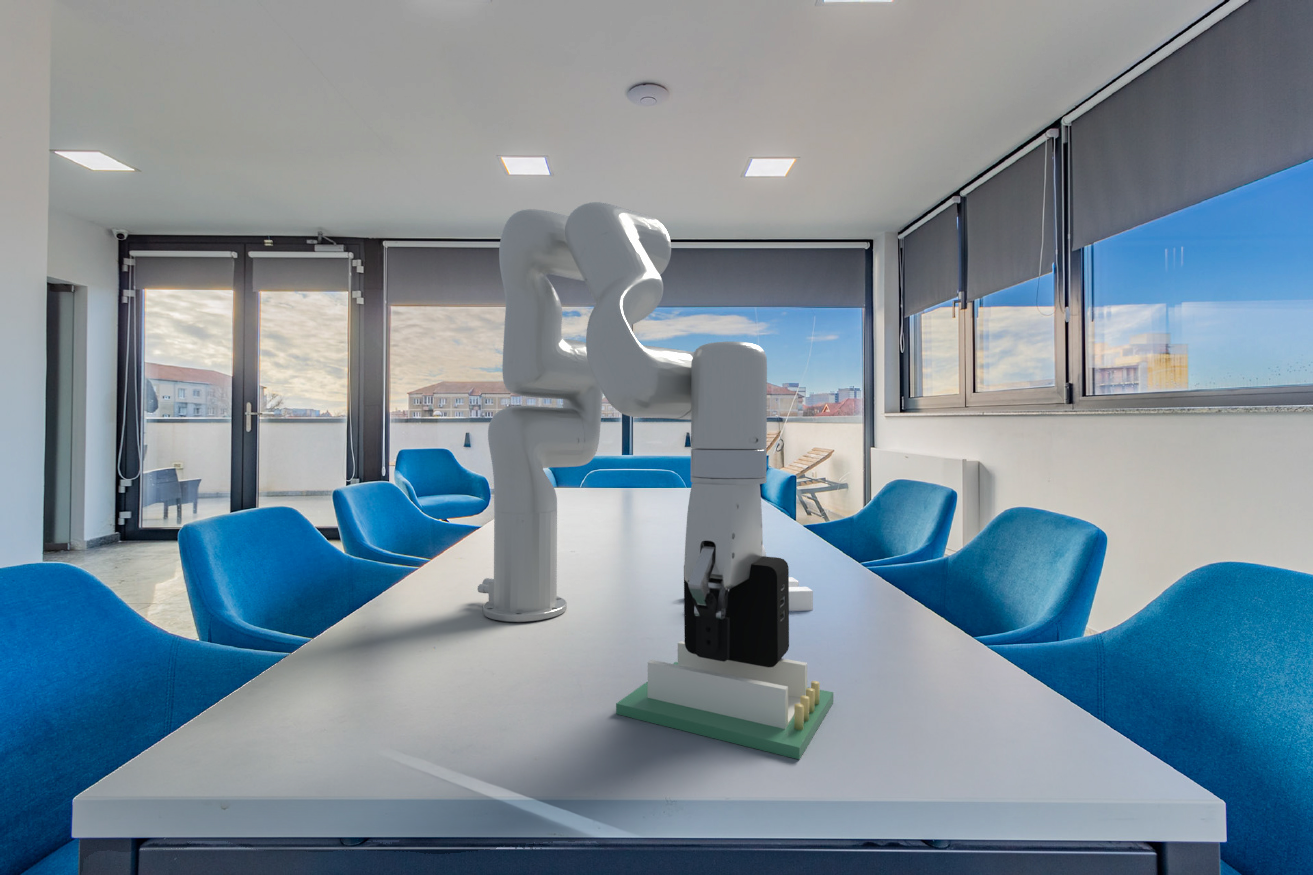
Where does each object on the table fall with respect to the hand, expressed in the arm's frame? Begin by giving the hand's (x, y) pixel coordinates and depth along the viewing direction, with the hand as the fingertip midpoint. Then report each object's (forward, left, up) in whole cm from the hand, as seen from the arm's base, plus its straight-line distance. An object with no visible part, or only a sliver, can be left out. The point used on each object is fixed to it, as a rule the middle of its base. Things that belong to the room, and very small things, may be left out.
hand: (727, 645), depth 62 cm
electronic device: (0, +3, -2) cm, 3 cm away
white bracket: (-11, +38, -7) cm, 40 cm away
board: (0, 0, -6) cm, 6 cm away
